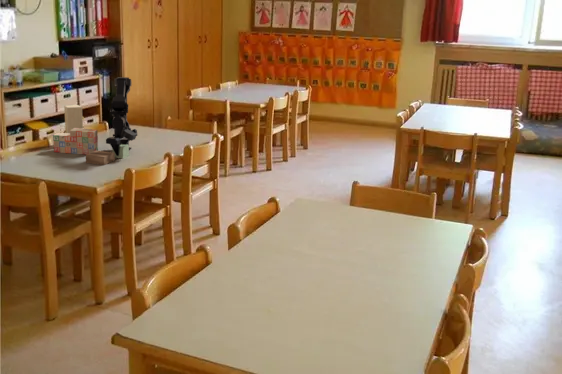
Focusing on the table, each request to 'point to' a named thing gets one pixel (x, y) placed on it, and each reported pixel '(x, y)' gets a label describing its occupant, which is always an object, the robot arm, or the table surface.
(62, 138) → the stack of blocks
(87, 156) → the walnut base
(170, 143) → the table surface
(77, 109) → the beige wooden block
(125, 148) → the green cube
